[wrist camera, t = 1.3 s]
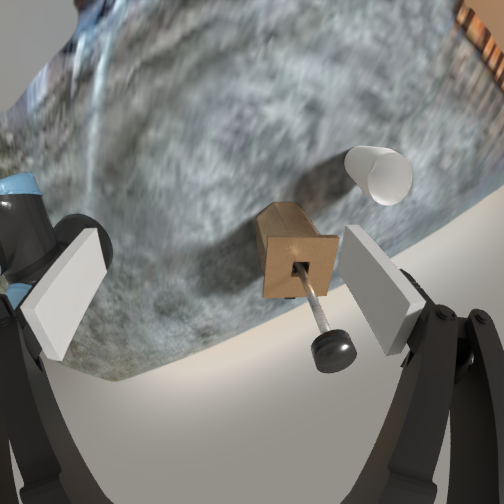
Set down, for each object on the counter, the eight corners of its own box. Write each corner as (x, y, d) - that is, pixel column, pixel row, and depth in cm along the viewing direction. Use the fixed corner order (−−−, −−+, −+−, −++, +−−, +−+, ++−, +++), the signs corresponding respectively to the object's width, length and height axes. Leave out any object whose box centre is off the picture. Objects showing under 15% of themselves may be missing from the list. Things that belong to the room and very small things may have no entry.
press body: (253, 262, 58) (261, 311, 45) (256, 201, 52) (268, 237, 39) (302, 262, 59) (323, 308, 46) (311, 202, 53) (339, 238, 40)
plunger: (270, 279, 46) (295, 385, 28) (274, 237, 42) (308, 338, 24) (315, 278, 46) (358, 376, 29) (322, 237, 43) (380, 330, 25)
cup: (362, 193, 52) (392, 216, 42) (329, 167, 49) (355, 186, 39) (387, 158, 49) (422, 174, 39) (355, 130, 46) (388, 139, 36)
